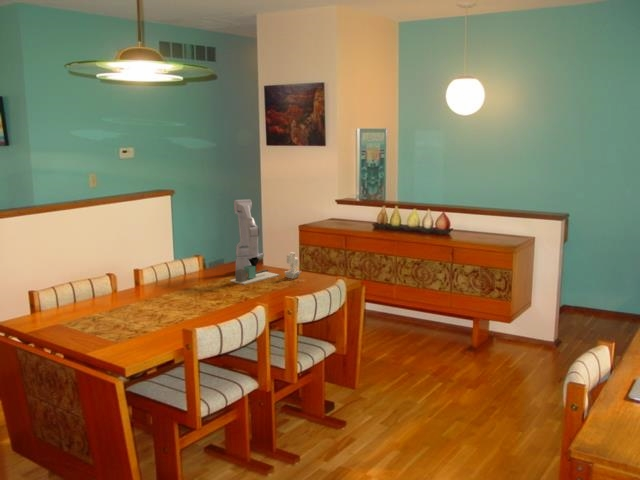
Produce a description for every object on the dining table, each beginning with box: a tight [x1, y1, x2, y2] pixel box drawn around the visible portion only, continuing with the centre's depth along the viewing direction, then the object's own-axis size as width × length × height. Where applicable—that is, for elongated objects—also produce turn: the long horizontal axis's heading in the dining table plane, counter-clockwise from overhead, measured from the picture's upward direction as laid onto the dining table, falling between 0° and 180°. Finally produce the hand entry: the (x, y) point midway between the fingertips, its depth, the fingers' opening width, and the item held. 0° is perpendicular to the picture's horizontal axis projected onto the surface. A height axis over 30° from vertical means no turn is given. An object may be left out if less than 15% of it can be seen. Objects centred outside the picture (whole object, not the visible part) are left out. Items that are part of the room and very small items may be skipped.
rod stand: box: [229, 268, 280, 286], centre depth 371 cm, size 12×28×7 cm, turn 139°
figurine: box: [284, 251, 302, 280], centre depth 373 cm, size 7×9×15 cm
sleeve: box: [244, 265, 257, 279], centre depth 368 cm, size 4×5×6 cm
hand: (253, 270), depth 370 cm, fingers closed
